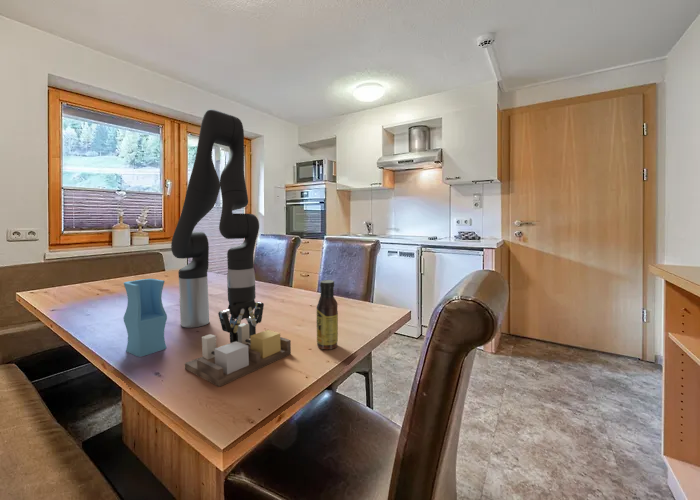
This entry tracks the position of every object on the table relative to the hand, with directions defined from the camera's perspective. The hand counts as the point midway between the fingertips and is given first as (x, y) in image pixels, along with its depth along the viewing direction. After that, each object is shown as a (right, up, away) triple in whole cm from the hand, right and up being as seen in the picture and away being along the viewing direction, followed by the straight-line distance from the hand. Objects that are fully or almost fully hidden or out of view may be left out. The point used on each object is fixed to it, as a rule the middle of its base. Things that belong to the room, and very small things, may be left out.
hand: (243, 341), depth 93 cm
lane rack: (+2, -3, -7) cm, 8 cm away
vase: (-28, -3, 0) cm, 28 cm away
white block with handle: (-2, -2, -12) cm, 12 cm away
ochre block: (+5, -1, -3) cm, 6 cm away
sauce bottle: (+24, -2, +2) cm, 24 cm away
